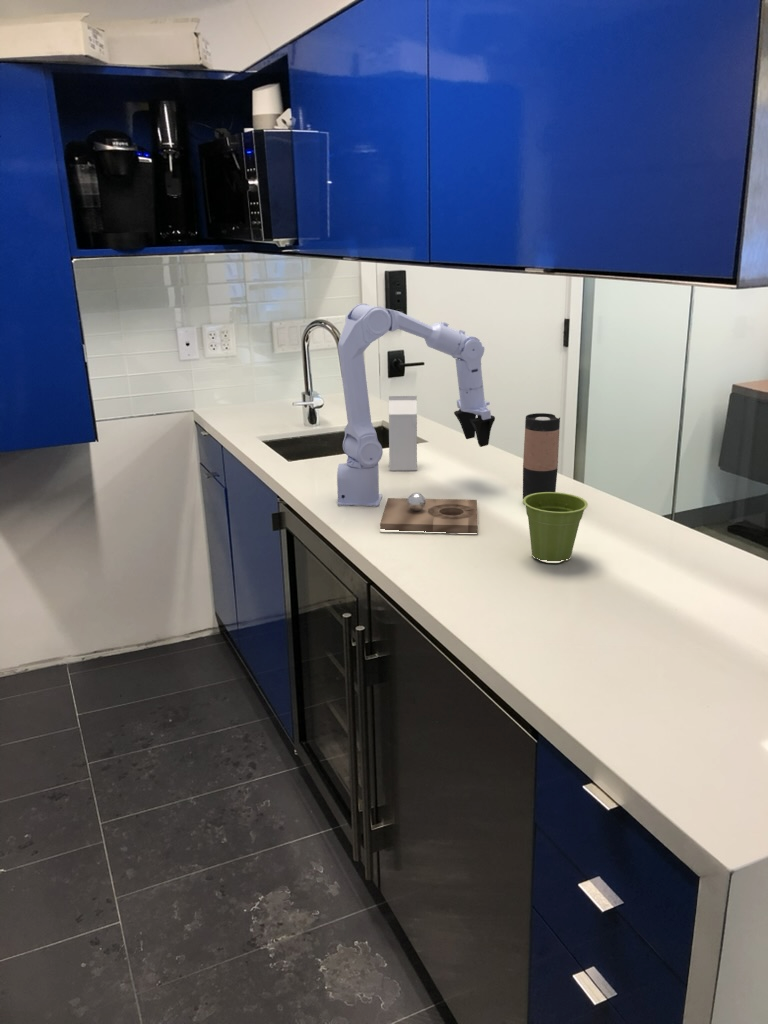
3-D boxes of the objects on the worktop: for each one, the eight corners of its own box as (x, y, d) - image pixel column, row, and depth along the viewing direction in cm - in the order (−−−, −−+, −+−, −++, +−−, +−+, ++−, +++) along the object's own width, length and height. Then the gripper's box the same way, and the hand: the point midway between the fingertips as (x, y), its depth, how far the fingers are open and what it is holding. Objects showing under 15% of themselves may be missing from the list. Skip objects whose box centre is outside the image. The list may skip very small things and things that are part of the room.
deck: (380, 532, 172) (380, 523, 171) (387, 506, 188) (387, 498, 187) (477, 534, 170) (477, 525, 169) (476, 508, 186) (476, 499, 185)
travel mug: (516, 505, 187) (520, 418, 181) (527, 496, 194) (531, 411, 187) (549, 510, 184) (554, 421, 178) (559, 500, 190) (564, 414, 184)
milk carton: (416, 471, 215) (416, 398, 209) (389, 471, 215) (388, 398, 209) (416, 463, 222) (416, 393, 216) (389, 463, 222) (389, 393, 216)
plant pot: (533, 572, 151) (536, 514, 148) (511, 549, 162) (513, 494, 159) (594, 566, 153) (598, 509, 150) (568, 544, 164) (572, 489, 161)
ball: (406, 513, 177) (406, 495, 176) (407, 507, 181) (407, 490, 179) (425, 514, 177) (425, 496, 175) (426, 508, 180) (426, 490, 179)
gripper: (500, 388, 189) (505, 445, 194) (473, 377, 202) (478, 431, 207) (472, 395, 187) (478, 452, 192) (446, 384, 200) (453, 437, 205)
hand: (476, 441), depth 199 cm, fingers open, 7 cm apart
